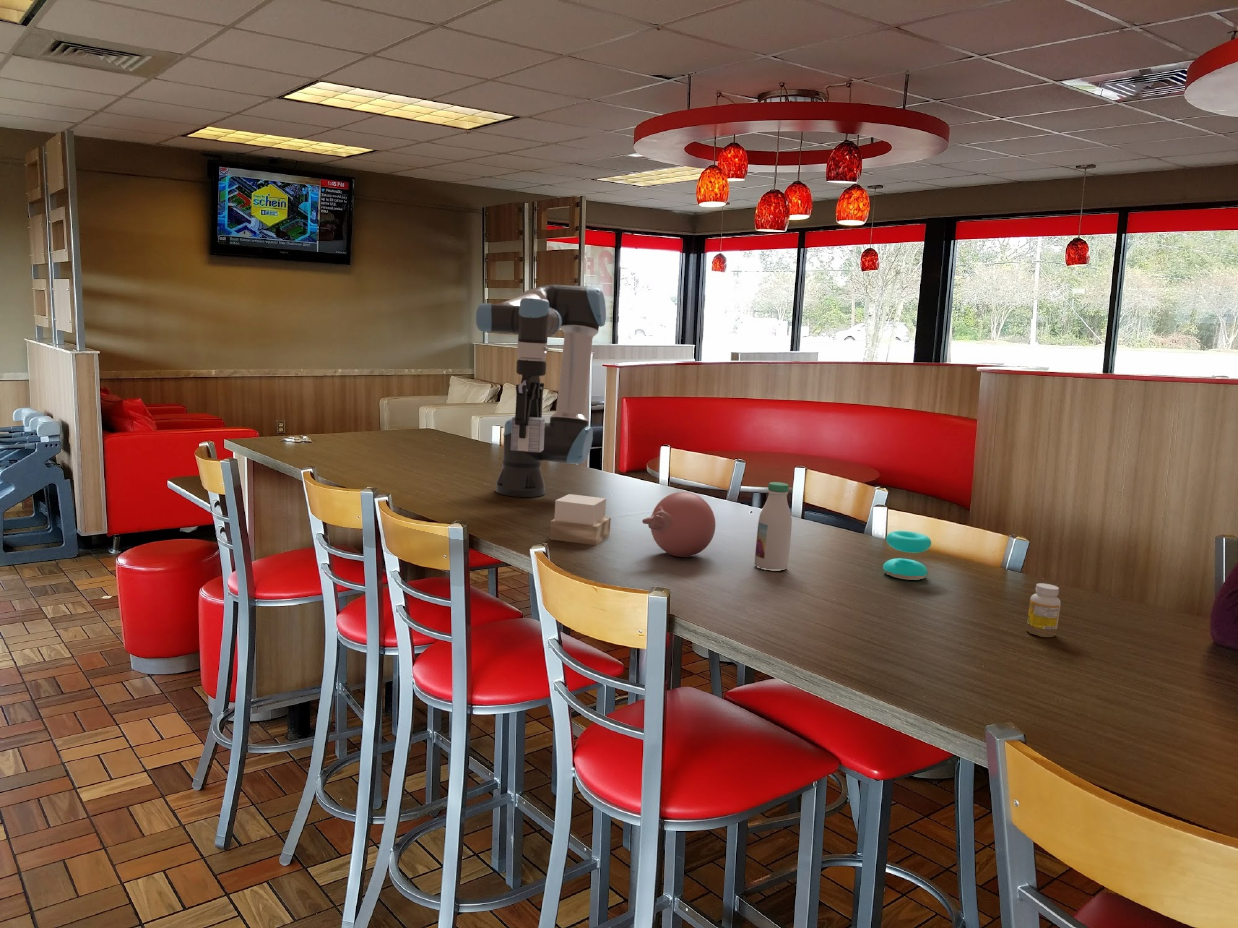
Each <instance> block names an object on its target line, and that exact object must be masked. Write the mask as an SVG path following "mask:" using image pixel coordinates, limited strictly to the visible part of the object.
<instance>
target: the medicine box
mask: <svg viewBox="0 0 1238 928" xmlns="http://www.w3.org/2000/svg"><path fill="white" fill-rule="evenodd" d="M511 419H512V430H511V450H516V451H519V450H518V430H519V425H515V416H513V417H512V418H511ZM545 423H546V418H544V417H542V418H537V417H529V422H528V426H530V429H529V448H528V452H541V451H543V450H544V429H545Z"/></svg>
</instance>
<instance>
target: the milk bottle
mask: <svg viewBox="0 0 1238 928" xmlns="http://www.w3.org/2000/svg"><path fill="white" fill-rule="evenodd" d="M767 488H768V490H767V492H768V496H767V499H766V501H765V503H764V505H763V507H762V509H761V511H760V512H759V517H758V523H757V531H756V533H757V534H756V543H755V555H754V566H755V565H756V566H759V567H760V568H766V569H785V568H787V567H789V560H790V550H791V548H790V547H791V541H792V540H791V538H792V528H793V527H792V523H793V518H792V517H793V516H792V512H791V510H790V507H789V503H788V499H787V498H788V494H789V488H790V487H789V484H788V483H785V482H778V481H776V482H775V481H772V482H769V483H768V486H767ZM756 566H755V567H756ZM787 569H788V568H787Z"/></svg>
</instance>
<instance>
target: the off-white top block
mask: <svg viewBox="0 0 1238 928" xmlns="http://www.w3.org/2000/svg"><path fill="white" fill-rule="evenodd" d="M606 505H607V498H604V497H597V496H587V495H581V494H572V493H568V494H566V495H565V496H562V497H560V498H557V499H555V502H554V518H553V519H554V520H556V521H563V522H571V523H578V524H586V525H594V524H596V523H597V522H599V521H601V520H602V519H604V518H605V517H606Z"/></svg>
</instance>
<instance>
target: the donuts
mask: <svg viewBox="0 0 1238 928" xmlns="http://www.w3.org/2000/svg"><path fill="white" fill-rule="evenodd" d="M885 541H886V543H887V544H888V546H889V547H891V548H892V549H894V550H897V551H899V552H900V551H901V552H905V553H910V554H911V553H914V554H915V553H917V554H918V553H924V552H926V551H927V550H929V549H930V548H931V546H932V540H931V538H930V537H929V536H927V535H926V534H923V533H919V532H915V531H909V530H895V531H894V530H893V531H891V532H889V533H888V534H887V535H886V539H885ZM882 566H883V567H882V570H883V569H884V570H885V571H888V572H892V573H893V574H900V575H905V576H924V575H926V574H927V573H929V572H928V568H927V567H926V566H925V565H924V564H923V563H921V562H919V561H917V560H914V559H909V558H900V557H898V558H891V559H887V561H885V562H884V563H883V565H882ZM927 575H928V574H927Z"/></svg>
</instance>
